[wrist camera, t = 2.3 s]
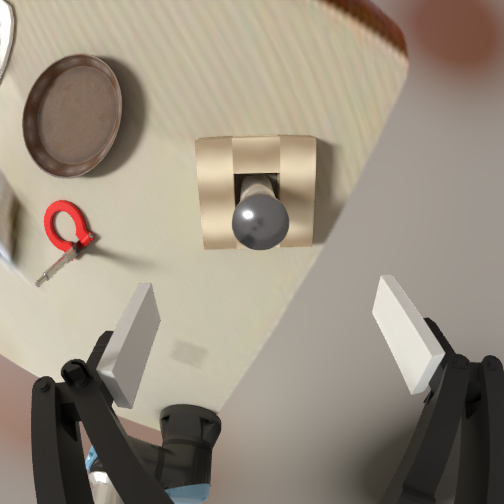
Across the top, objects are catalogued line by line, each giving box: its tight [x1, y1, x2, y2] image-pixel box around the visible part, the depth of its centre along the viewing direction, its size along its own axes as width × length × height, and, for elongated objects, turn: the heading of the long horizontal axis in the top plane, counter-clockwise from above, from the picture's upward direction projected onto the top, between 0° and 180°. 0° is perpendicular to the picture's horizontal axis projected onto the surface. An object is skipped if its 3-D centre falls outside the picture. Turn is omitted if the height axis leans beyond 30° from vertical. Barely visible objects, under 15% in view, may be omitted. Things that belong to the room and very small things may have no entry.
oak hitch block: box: [195, 135, 316, 250], centre depth 37 cm, size 14×14×4 cm
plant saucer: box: [22, 54, 122, 178], centre depth 31 cm, size 18×18×3 cm
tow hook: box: [35, 200, 94, 287], centre depth 34 cm, size 8×13×9 cm
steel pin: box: [232, 173, 289, 250], centre depth 33 cm, size 5×5×13 cm
